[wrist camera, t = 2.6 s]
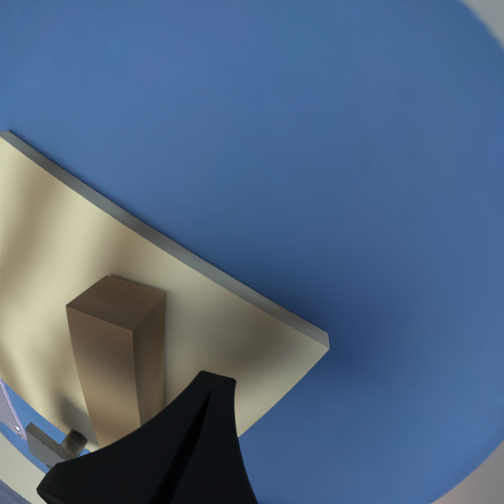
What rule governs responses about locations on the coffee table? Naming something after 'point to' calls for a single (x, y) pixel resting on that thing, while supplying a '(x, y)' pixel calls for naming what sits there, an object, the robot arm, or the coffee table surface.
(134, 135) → the coffee table surface
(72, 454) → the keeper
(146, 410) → the link
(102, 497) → the robot arm
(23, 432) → the mobile phone
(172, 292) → the base plate
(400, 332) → the coffee table surface
